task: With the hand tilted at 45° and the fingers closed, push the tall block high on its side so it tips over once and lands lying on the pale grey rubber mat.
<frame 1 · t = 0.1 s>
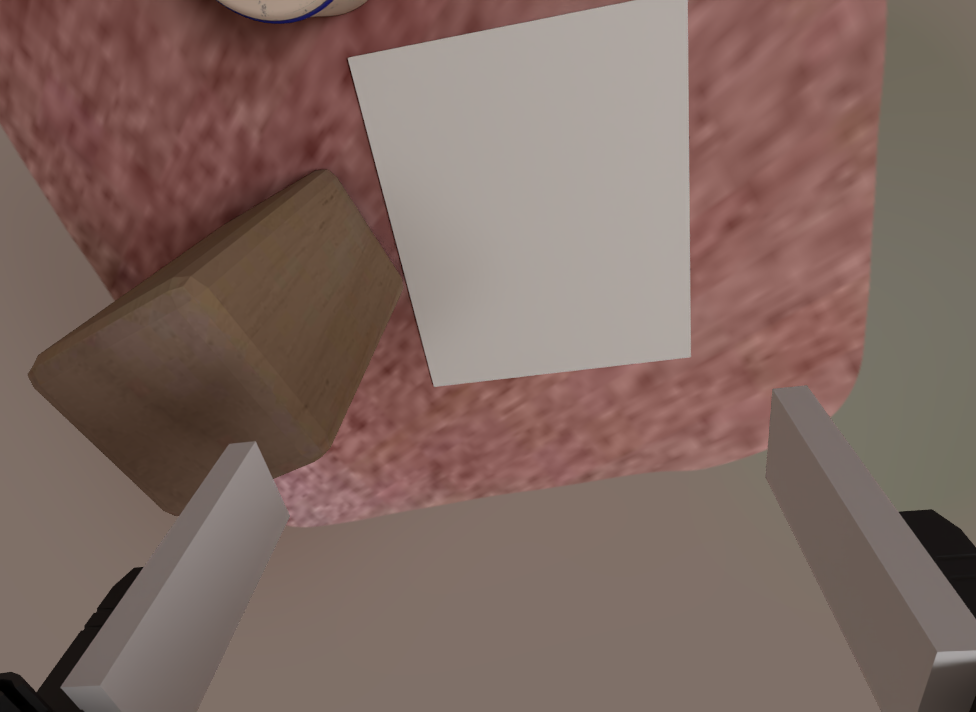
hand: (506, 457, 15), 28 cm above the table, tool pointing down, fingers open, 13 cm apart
block: (317, 254, 43), on the table
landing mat: (537, 222, 41), on the table
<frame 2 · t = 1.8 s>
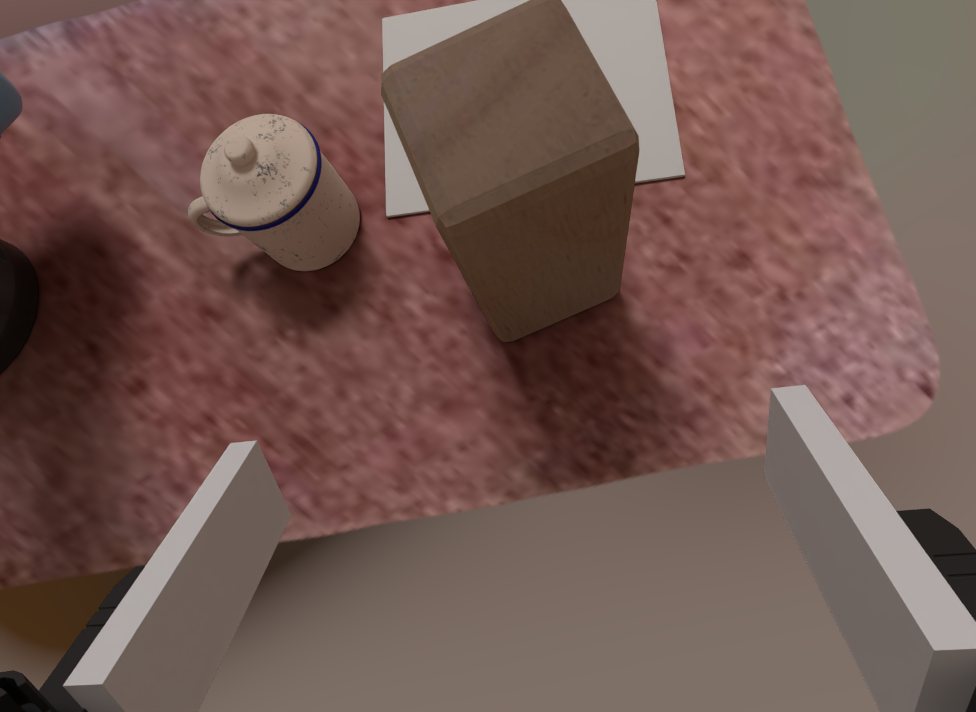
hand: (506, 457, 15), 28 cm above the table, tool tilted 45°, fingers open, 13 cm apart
teacup with lid: (298, 231, 51), on the table
block: (537, 269, 47), on the table
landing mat: (521, 92, 50), on the table
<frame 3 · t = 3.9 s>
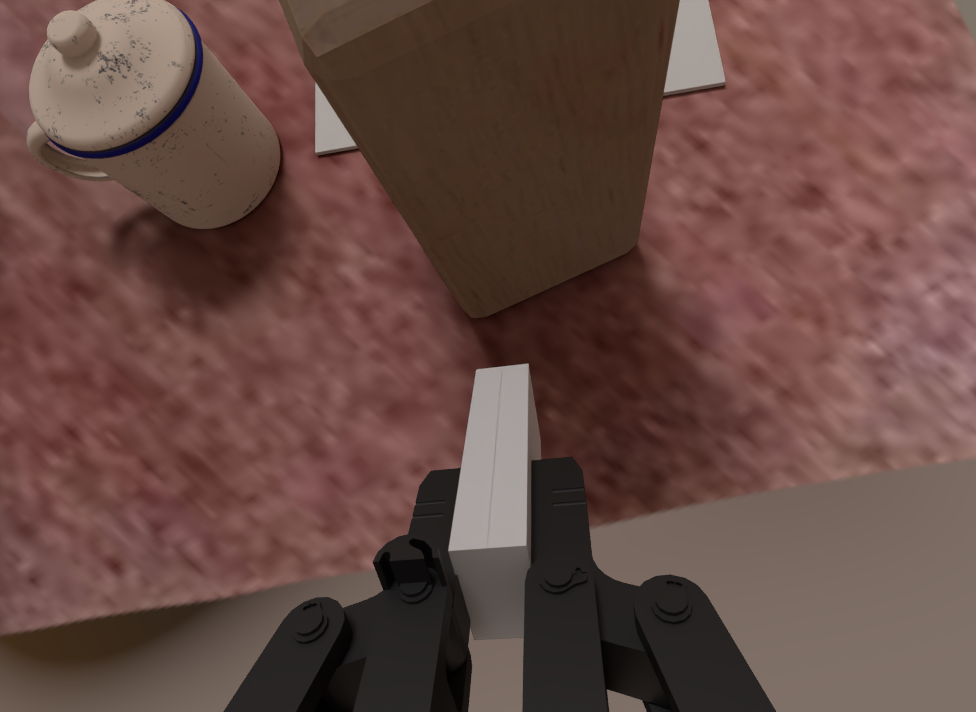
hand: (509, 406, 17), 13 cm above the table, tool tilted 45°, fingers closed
teacup with lid: (200, 177, 38), on the table
block: (520, 217, 33), on the table
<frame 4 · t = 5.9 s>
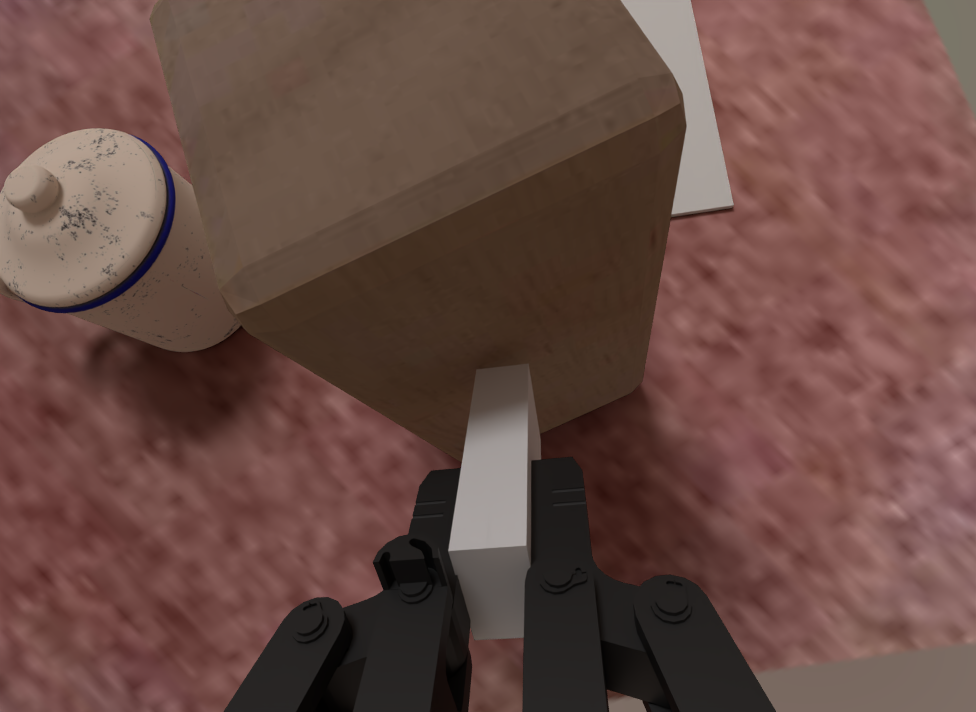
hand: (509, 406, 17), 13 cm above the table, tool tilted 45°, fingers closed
teacup with lid: (179, 292, 36), on the table
block: (516, 346, 31), on the table
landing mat: (491, 88, 35), on the table
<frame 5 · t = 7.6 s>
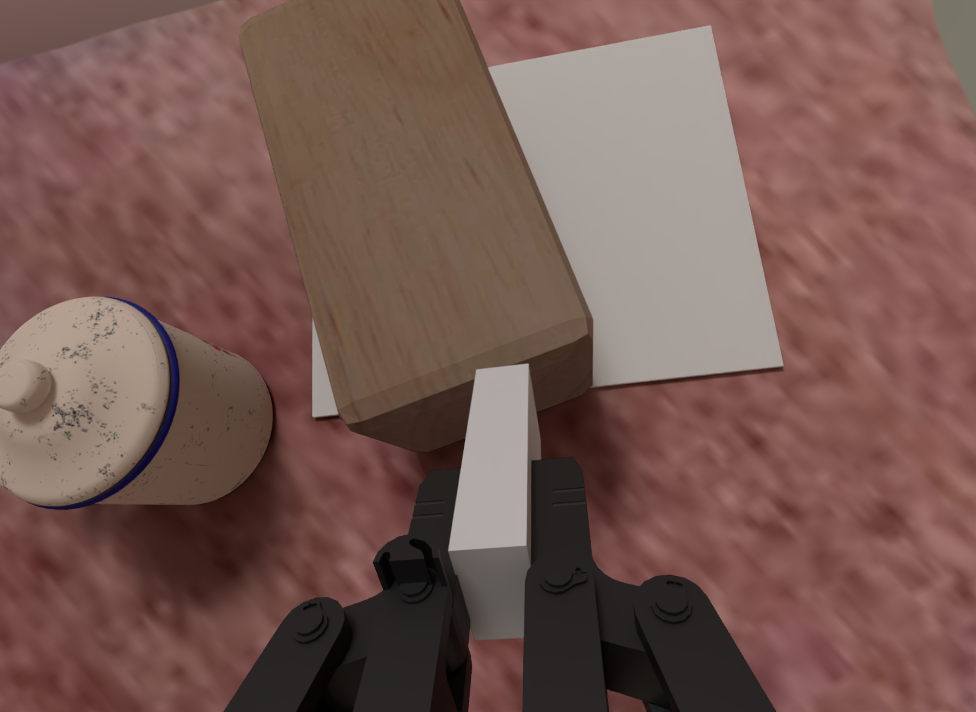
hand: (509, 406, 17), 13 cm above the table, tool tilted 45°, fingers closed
teacup with lid: (183, 432, 34), on the table
block: (492, 415, 25), point 5 cm above the table, touching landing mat
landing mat: (517, 218, 33), on the table
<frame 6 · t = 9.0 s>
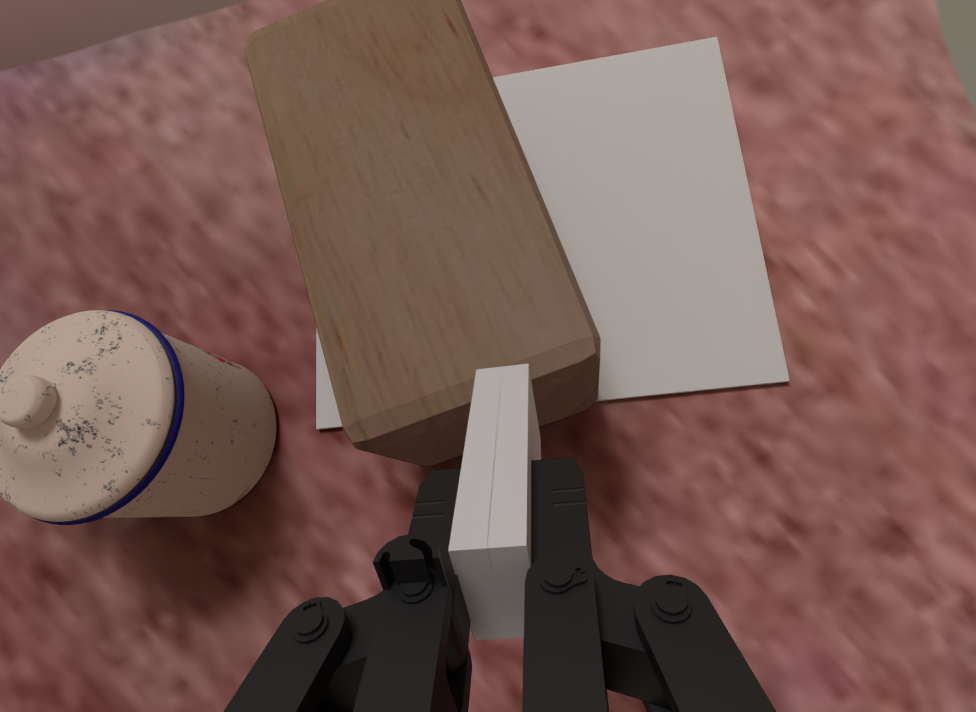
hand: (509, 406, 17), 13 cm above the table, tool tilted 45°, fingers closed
teacup with lid: (186, 443, 33), on the table
block: (497, 431, 25), point 5 cm above the table, touching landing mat
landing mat: (522, 229, 33), on the table
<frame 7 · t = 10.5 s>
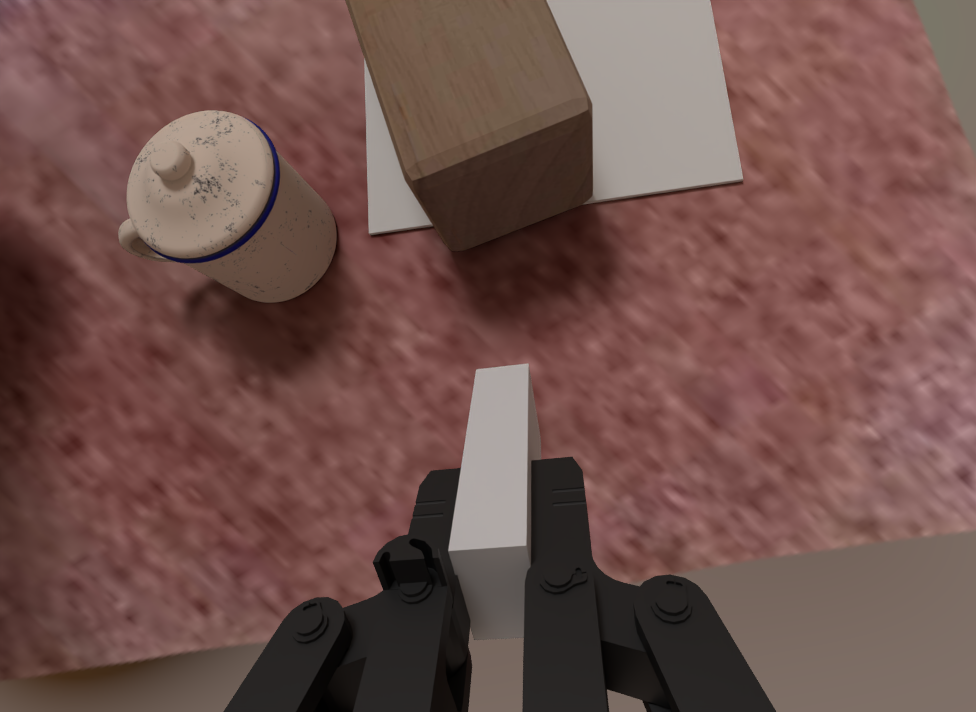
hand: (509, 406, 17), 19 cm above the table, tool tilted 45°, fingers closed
teacup with lid: (263, 252, 42), on the table
block: (515, 200, 33), point 5 cm above the table, touching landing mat
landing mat: (533, 75, 41), on the table
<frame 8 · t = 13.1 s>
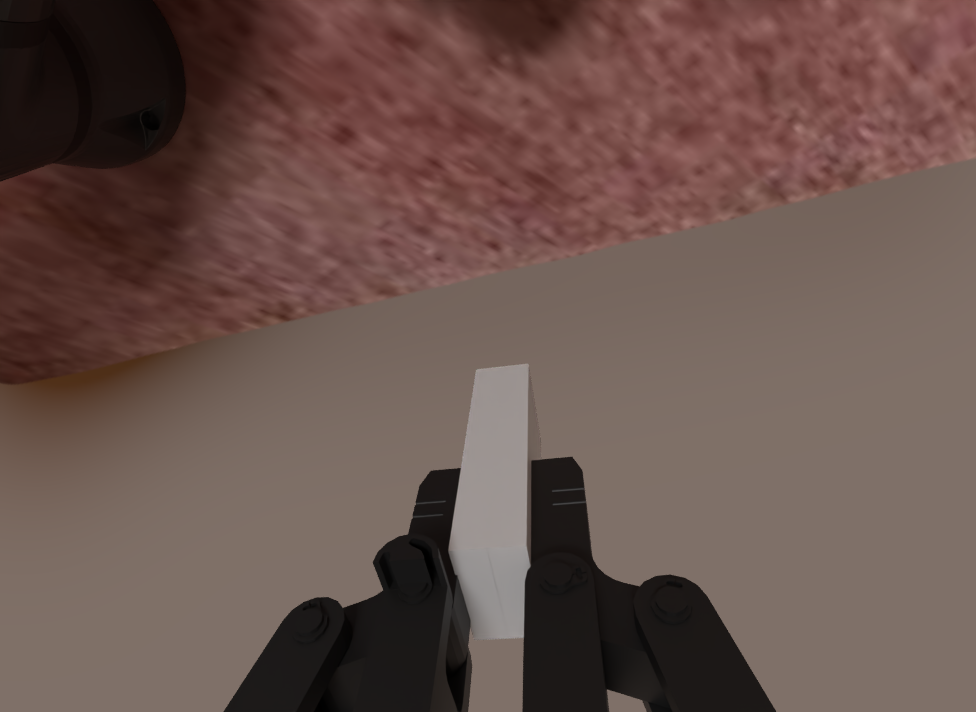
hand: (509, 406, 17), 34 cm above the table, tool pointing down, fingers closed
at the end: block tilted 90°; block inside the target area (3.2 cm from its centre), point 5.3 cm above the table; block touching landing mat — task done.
